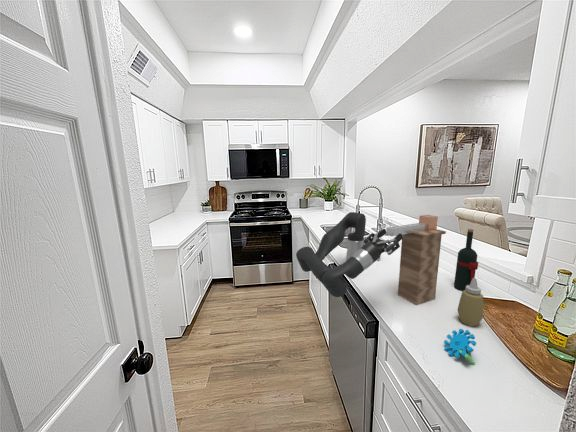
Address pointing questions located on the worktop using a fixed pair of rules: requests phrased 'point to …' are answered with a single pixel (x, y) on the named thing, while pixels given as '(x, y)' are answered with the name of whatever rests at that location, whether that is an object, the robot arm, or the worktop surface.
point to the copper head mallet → (415, 226)
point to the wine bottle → (466, 264)
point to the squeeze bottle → (471, 305)
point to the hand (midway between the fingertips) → (393, 232)
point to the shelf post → (419, 266)
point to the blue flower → (460, 344)
